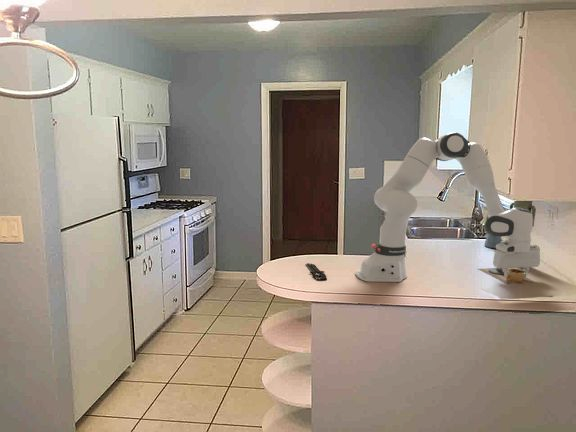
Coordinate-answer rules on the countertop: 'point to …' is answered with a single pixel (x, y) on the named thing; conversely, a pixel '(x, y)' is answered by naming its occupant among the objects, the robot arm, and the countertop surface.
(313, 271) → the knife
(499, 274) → the bobbin board
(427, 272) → the countertop surface
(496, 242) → the moka pot
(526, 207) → the thermos
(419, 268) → the countertop surface
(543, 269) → the countertop surface
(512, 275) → the coil ring
